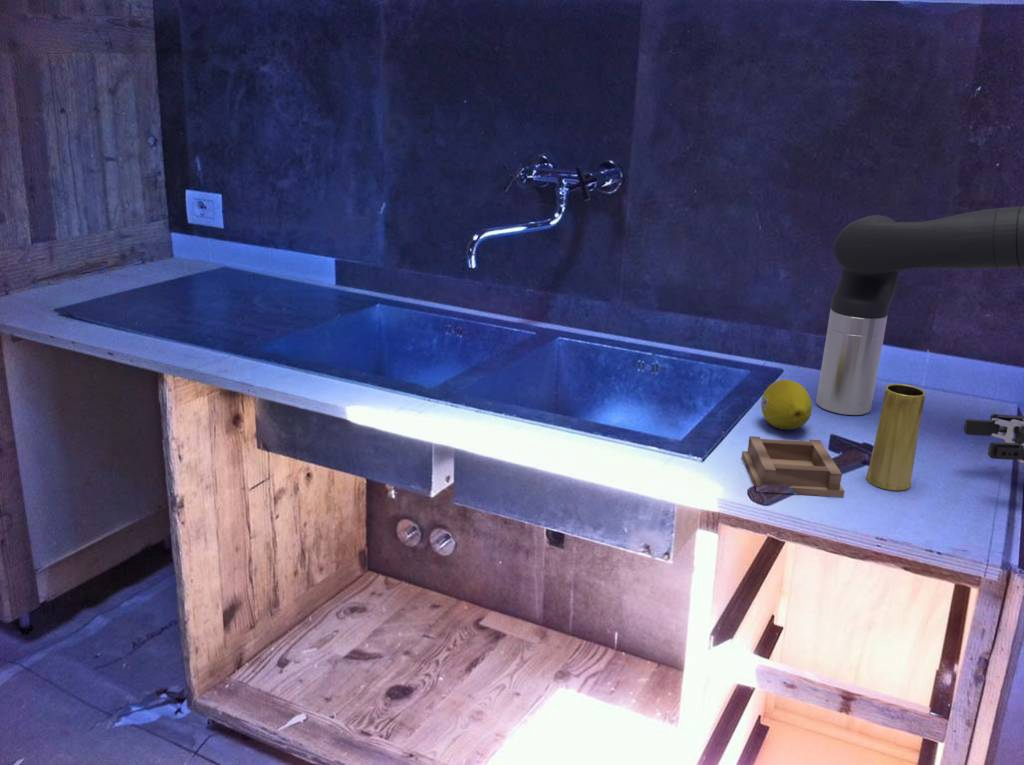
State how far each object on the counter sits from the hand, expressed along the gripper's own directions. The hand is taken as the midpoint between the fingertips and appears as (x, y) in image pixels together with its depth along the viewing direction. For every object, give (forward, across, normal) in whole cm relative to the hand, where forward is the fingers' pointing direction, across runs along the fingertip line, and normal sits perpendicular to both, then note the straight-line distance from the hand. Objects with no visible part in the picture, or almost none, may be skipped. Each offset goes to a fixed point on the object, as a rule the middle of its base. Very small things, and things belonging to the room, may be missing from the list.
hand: (977, 438), depth 133 cm
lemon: (+22, -19, +8) cm, 30 cm away
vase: (+11, 0, +8) cm, 14 cm away
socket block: (+25, 0, +8) cm, 26 cm away
